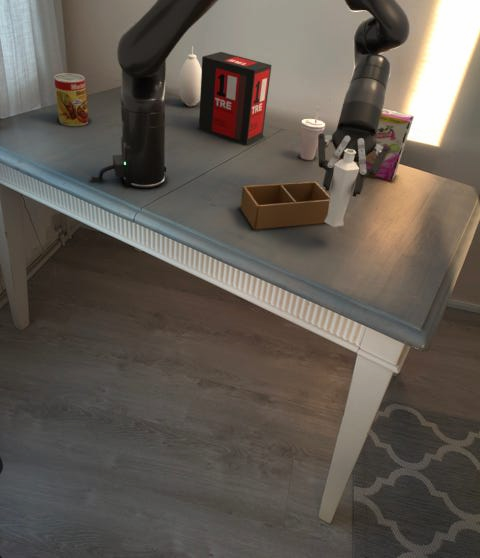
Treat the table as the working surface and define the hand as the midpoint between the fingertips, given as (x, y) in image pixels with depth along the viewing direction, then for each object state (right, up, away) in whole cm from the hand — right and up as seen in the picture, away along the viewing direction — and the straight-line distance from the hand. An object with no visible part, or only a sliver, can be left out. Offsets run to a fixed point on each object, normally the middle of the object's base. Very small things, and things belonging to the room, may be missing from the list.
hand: (340, 192), depth 95 cm
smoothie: (-1, +17, +44) cm, 47 cm away
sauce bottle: (-35, +40, +69) cm, 87 cm away
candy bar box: (+16, +11, +39) cm, 44 cm away
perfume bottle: (0, -5, +6) cm, 8 cm away
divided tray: (-9, -2, +16) cm, 19 cm away
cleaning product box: (-22, +26, +53) cm, 63 cm away
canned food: (-66, +28, +48) cm, 87 cm away
